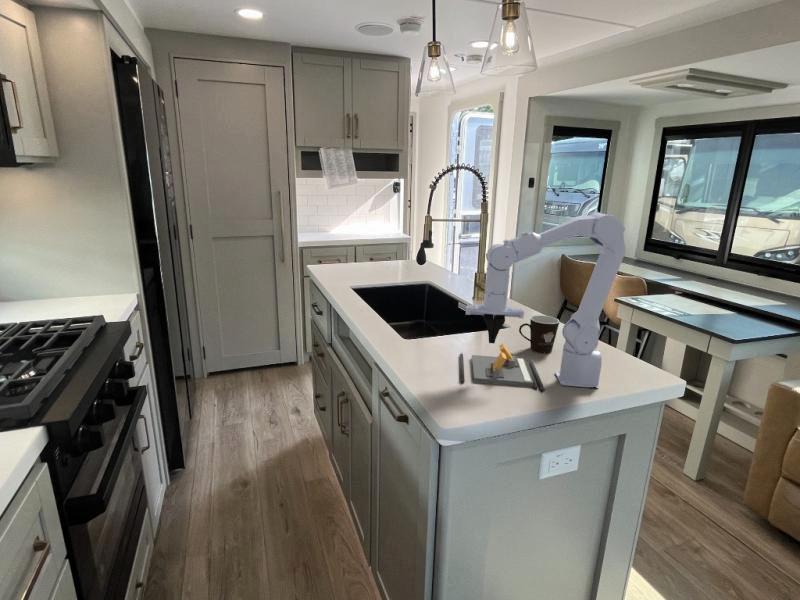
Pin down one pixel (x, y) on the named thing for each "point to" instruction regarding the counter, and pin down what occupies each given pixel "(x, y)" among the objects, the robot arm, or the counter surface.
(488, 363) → the breaker panel
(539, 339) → the coffee mug
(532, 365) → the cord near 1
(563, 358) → the robot arm
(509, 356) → the breaker lever
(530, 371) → the dark long thin strip
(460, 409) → the counter surface
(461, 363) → the cord far
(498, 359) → the breaker lever
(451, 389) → the counter surface
